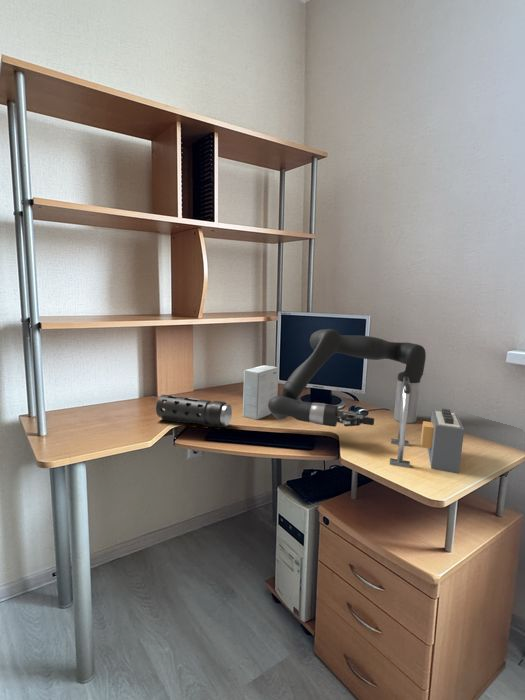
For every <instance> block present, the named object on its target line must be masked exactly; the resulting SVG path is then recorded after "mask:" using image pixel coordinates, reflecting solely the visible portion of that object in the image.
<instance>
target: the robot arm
mask: <svg viewBox="0 0 525 700" xmlns="http://www.w3.org/2000/svg"><path fill="white" fill-rule="evenodd" d="M309 345H310V347H311V349H313V352H312V353H311V354H310V355H309V357H308V358H306V359H305V360H304V362H302V363H301V364H300V365H299V366H298V367H297V368H295V369H294V371H293V372H292V373H291V374H290V376H288V379H287V380H286V381H285V382H284V384H283V387H282V391H281V394H280V395H277V396H275V397H273V398H272V399H271V400H270V401H269V403H268V407H269V410H270V412H271V413H272V414H271V415H272V416H273V417H274V418H275V419H277V420H279V421H281V420H284V419H286V418H287V417H289V418H294V419H295V420H296V421H300V422H307V423H312V424H315V425H320V426H326V427H327V426H328V427H334V428H336V427H337V425H338V423H339V424H341V425H343V426H344V427H357V426H359V427H360V426H361V425H368V426H375V425H374V424H375V418H374V417H369V416H364V415H363V414H362V413H360V412H357V411H354V410H351V409H348V410H341V411H340V408H339V405H336V404H329V403H324V402H322V403H321V402H308V401H301V400H298V399H299V397H300V395H302V393H303V391H304V390H305V389H306V387H307V386H308V384H309V382H310V381H311V380H312V379H313V377H315V375H316V374H317V372H319V371H320V369H321V368H322V367H323V366H324V364H325V363H327V361H328V360H329V359H330V358H331V357H332V356H333V355H334V354H341V355H346V356H350V357H355V358H359V359H365V360H370V361H371V360H372V361H379V360H385V359H386V360H390V361H395V362H398V363H401V364H404V365H405V369H404V370H403V371H401V372H399V373H398V374H397V380H396V381H397V382H396V391H395V401H394V410H393V411H394V413H393V419H394V421H396V422H400V412H401V402H402V392H403V378H404V377H405V376H408V377H409V382H410V394H409V403H408V413H407V423H406V424H412V423H417V417H418V416H417V414H418V408H419V407H418V406H419V395H420V390H421V389H420V388H421V379H422V377H423V375H424V372H425V371H424V370H425V365H426V364H425V363H426V357H427V353H426V349H425V347H424V346H423V345H420V344H417V343H411V342H395V341H388V340H385V339H383V338H379V337H374V336H369V335H368V336H367V335H348V334H347V335H346V334H345V335H342V334H340V333H339V331H337V330H335V329H331V328H327V329H318V330H316V331H314V332H313V333H311V336H310V338H309Z"/></svg>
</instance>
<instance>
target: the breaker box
mask: <svg viewBox="0 0 525 700" xmlns="http://www.w3.org/2000/svg"><path fill="white" fill-rule="evenodd" d="M430 422H433V424H434V432H433V440H432V448H427V451H428V453H427V454H428V457H429V463H430V465H429V466H430V469H432V470H438V471H443V472H444V471H445V472H450V473H456V474H459V473H460V468H461V467H460V465H461V459H462V458H461V457H462V451H463V443H464V436H465V435H464V434H465V428H464V426H463V423H462V421H461V420H460V418H459V416H458V413H456V412H451V409H448V408H442V409H441V411H440V410H439V411H438V410H432V411H431V417H430Z"/></svg>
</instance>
